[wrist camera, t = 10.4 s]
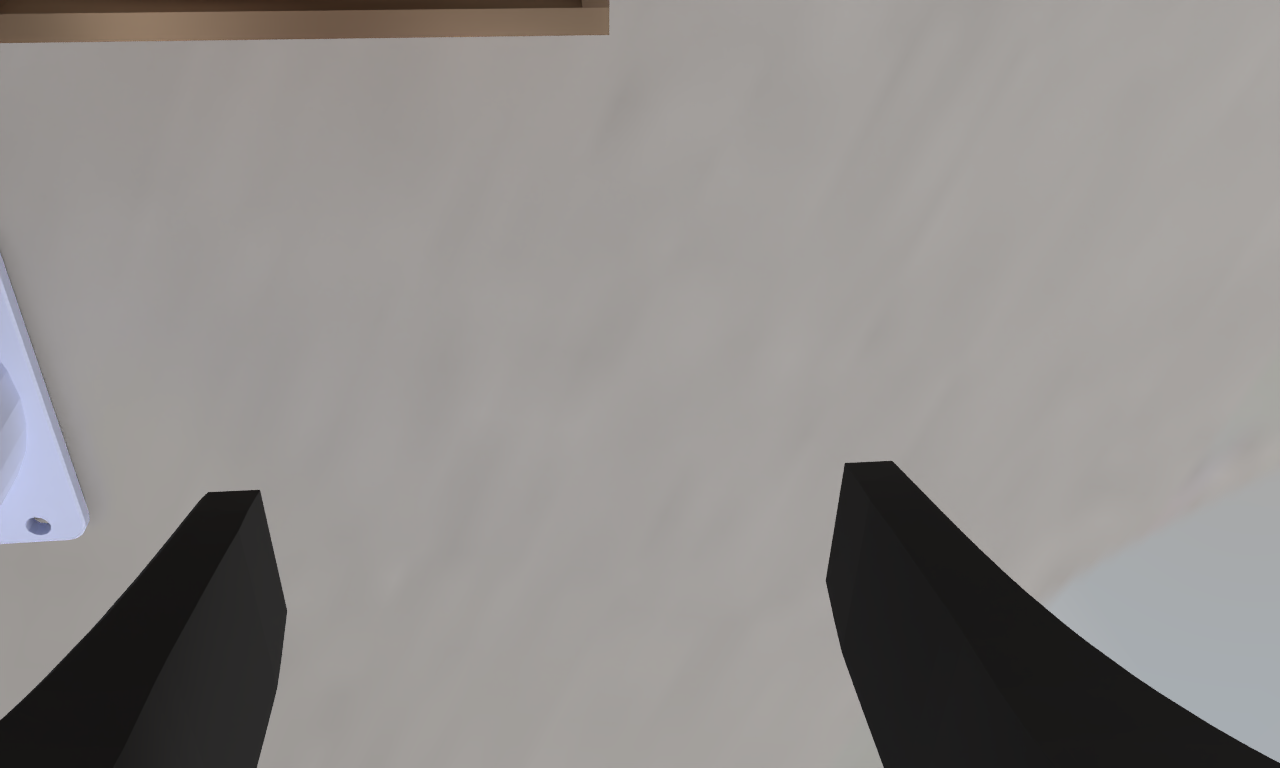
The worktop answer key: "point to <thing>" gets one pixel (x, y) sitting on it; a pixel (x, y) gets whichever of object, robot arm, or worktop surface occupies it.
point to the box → (293, 19)
